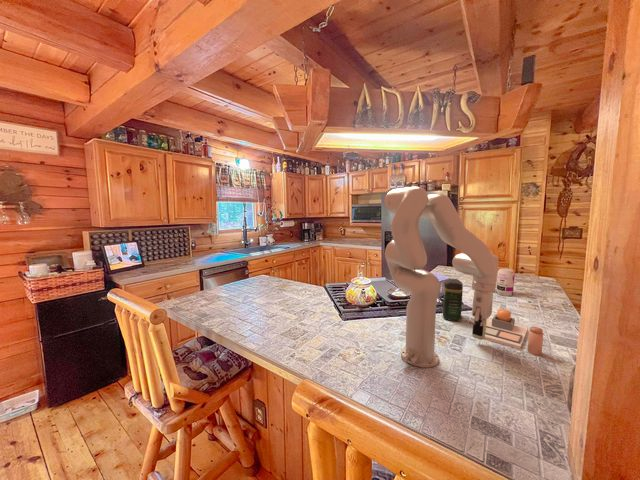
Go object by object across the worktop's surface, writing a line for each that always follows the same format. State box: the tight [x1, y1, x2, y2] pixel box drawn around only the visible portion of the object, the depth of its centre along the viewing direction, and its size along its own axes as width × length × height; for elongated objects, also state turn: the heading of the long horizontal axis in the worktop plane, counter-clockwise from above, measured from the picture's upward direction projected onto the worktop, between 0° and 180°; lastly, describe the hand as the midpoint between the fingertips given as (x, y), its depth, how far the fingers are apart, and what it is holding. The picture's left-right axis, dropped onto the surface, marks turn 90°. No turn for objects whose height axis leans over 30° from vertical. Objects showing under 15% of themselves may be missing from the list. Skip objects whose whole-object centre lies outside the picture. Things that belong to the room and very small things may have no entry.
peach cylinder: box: [527, 326, 544, 356], centre depth 95 cm, size 4×4×9 cm
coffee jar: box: [442, 277, 464, 322], centre depth 125 cm, size 10×8×19 cm
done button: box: [496, 308, 512, 322], centre depth 113 cm, size 5×5×4 cm
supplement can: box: [495, 267, 516, 297], centre depth 156 cm, size 8×8×15 cm
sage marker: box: [472, 316, 487, 341], centre depth 100 cm, size 4×4×9 cm
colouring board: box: [471, 313, 529, 350], centre depth 110 cm, size 20×16×4 cm
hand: (479, 332), depth 101 cm, fingers closed on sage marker, 4 cm apart
